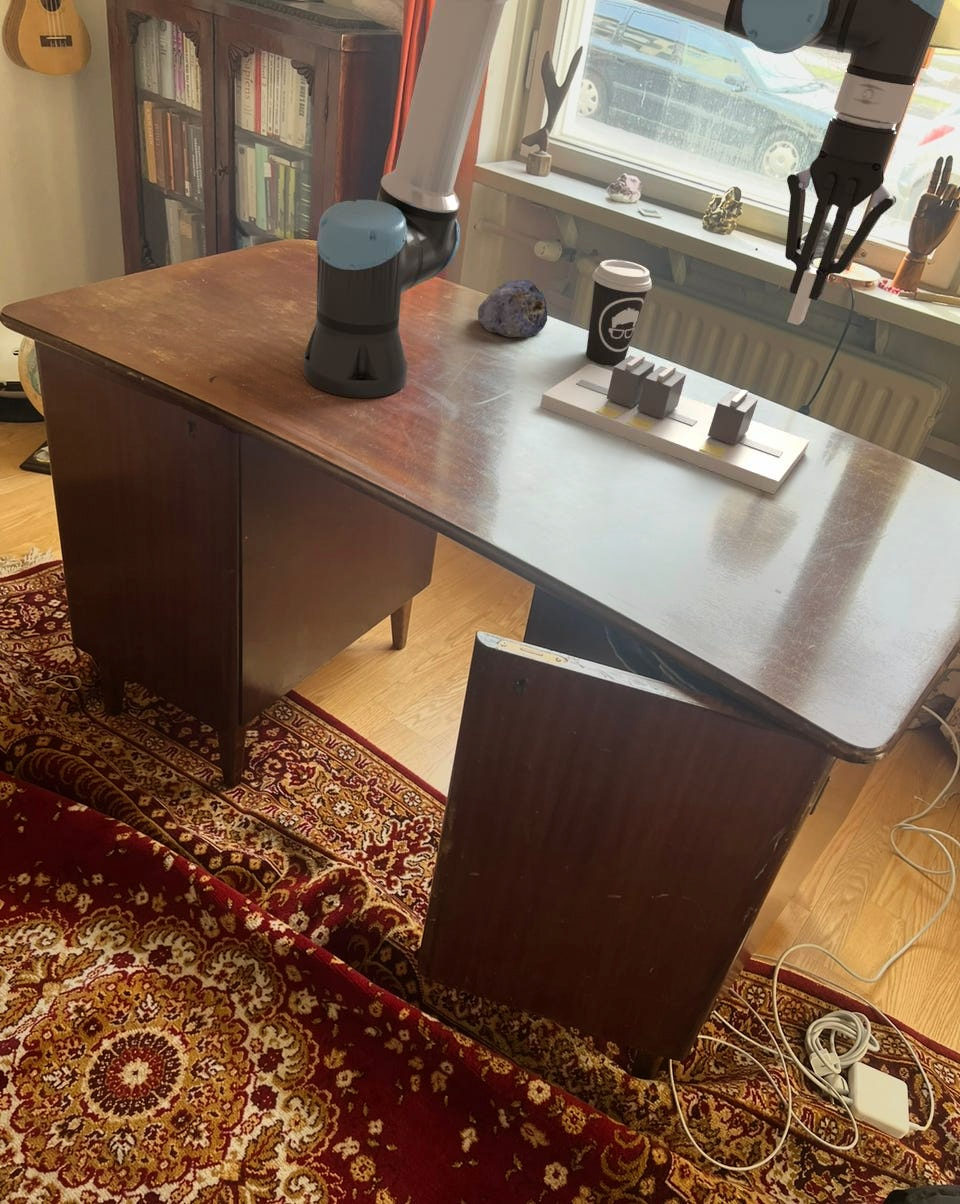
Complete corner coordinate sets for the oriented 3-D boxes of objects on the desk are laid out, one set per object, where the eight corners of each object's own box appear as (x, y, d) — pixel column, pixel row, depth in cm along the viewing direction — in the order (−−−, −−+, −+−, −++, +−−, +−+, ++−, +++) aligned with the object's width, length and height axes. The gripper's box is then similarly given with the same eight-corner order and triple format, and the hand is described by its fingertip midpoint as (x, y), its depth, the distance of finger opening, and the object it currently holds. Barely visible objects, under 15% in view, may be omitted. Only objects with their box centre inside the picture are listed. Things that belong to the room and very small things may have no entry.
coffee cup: (638, 355, 157) (659, 267, 148) (626, 375, 150) (648, 283, 141) (584, 342, 159) (602, 253, 150) (570, 360, 152) (588, 268, 143)
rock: (557, 316, 160) (541, 268, 153) (526, 356, 157) (509, 309, 149) (508, 309, 166) (490, 262, 159) (477, 348, 163) (458, 302, 155)
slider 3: (707, 435, 130) (719, 397, 127) (721, 421, 134) (733, 384, 131) (734, 445, 129) (746, 407, 125) (747, 430, 133) (760, 393, 130)
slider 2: (637, 409, 134) (646, 372, 130) (652, 397, 138) (662, 360, 135) (662, 419, 132) (672, 381, 129) (677, 406, 137) (687, 369, 133)
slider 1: (606, 398, 136) (615, 361, 132) (622, 386, 140) (631, 350, 136) (631, 407, 134) (640, 370, 131) (646, 395, 139) (656, 358, 135)
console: (540, 406, 136) (542, 392, 135) (587, 375, 148) (589, 362, 146) (773, 494, 124) (779, 480, 122) (805, 452, 135) (810, 439, 134)
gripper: (801, 110, 105) (739, 312, 119) (916, 136, 100) (838, 344, 115) (817, 105, 110) (756, 299, 125) (928, 130, 106) (851, 328, 120)
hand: (795, 320), depth 120 cm, fingers closed
